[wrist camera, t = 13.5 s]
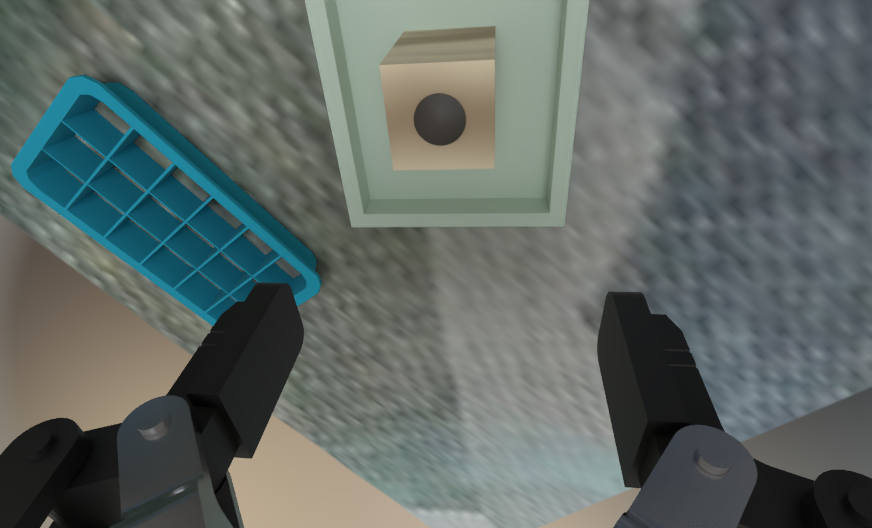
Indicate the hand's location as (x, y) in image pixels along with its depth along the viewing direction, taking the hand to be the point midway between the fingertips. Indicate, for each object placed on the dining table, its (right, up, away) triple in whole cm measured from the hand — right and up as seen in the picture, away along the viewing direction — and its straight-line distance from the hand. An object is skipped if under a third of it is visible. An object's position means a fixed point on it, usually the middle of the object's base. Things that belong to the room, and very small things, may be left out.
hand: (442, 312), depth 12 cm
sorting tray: (+1, +13, +16) cm, 20 cm away
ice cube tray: (-19, +5, +25) cm, 32 cm away
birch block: (+1, +12, +15) cm, 19 cm away
